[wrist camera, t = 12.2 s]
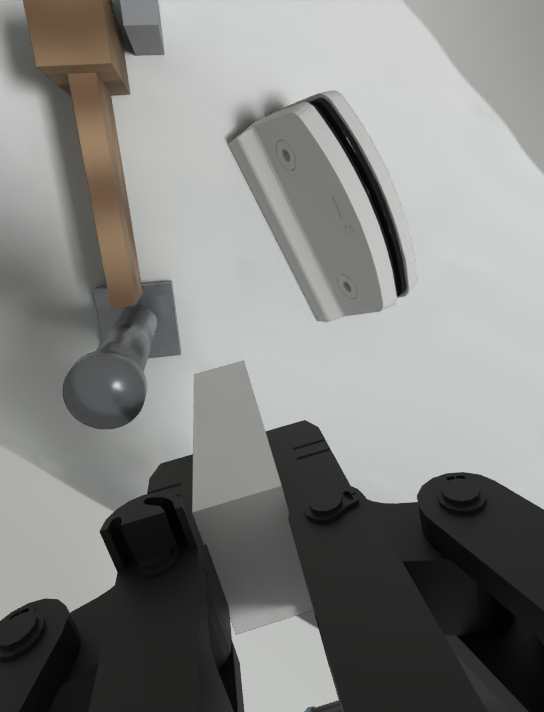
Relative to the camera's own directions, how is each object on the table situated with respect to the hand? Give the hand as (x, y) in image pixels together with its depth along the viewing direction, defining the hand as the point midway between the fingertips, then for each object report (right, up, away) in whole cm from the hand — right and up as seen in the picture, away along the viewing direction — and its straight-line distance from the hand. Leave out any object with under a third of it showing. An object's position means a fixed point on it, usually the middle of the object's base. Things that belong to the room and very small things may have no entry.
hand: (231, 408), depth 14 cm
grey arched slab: (+5, +13, +25) cm, 29 cm away
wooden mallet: (-10, +15, +21) cm, 28 cm away
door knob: (-10, +5, +25) cm, 27 cm away
